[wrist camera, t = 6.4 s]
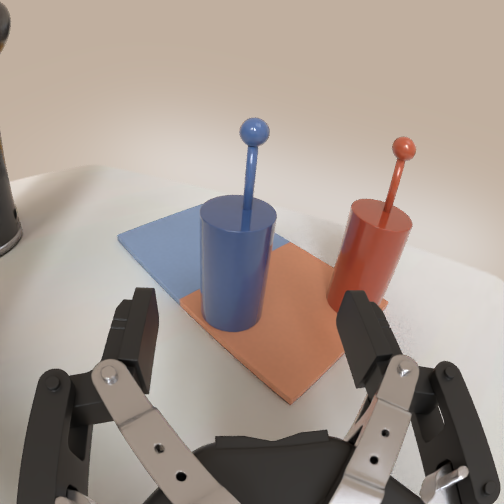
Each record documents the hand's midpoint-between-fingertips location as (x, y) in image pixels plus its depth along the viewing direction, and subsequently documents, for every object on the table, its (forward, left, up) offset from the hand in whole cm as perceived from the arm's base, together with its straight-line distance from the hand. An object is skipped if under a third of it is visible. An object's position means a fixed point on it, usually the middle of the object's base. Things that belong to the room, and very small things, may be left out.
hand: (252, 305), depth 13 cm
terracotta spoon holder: (+17, +2, -12) cm, 21 cm away
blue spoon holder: (+7, +9, -12) cm, 16 cm away
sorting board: (+12, +13, -12) cm, 21 cm away
